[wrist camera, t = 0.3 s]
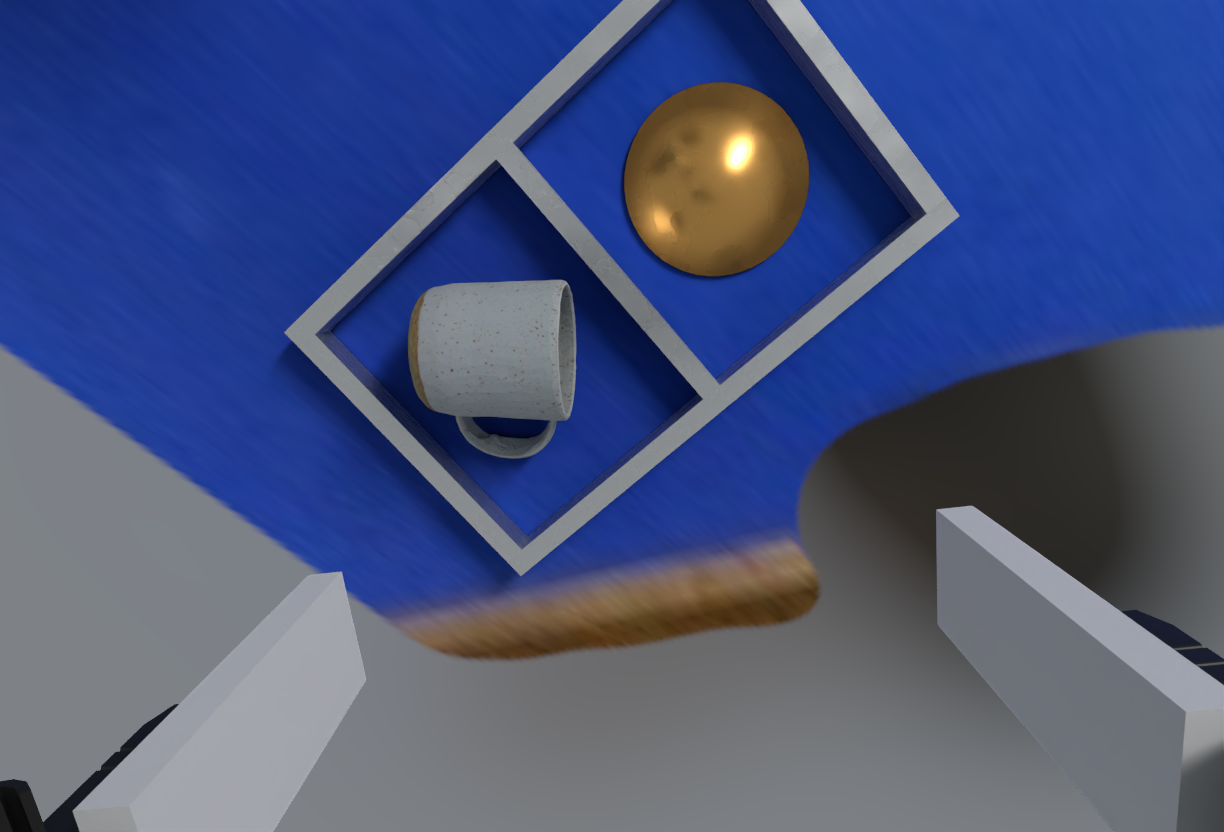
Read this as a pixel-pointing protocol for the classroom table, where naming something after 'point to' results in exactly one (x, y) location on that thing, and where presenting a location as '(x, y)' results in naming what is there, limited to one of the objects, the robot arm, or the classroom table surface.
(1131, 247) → the classroom table surface
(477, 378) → the ceramic mug
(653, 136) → the slot rack
